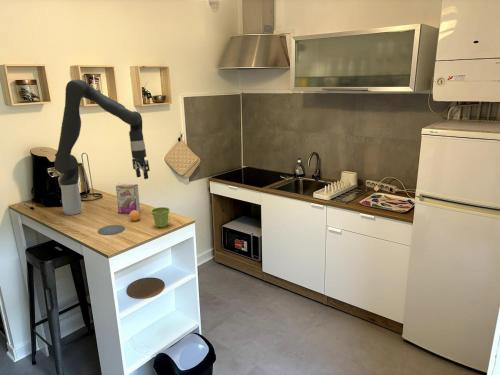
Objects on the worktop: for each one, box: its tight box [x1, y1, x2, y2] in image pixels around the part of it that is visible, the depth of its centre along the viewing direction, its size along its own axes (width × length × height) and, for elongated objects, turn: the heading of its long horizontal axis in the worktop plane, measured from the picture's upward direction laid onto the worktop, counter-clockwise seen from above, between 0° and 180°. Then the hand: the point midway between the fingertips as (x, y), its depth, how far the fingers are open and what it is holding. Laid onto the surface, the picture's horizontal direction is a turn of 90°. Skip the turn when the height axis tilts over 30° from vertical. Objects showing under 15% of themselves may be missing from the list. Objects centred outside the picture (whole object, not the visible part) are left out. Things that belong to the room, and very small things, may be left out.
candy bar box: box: [115, 183, 141, 214], centre depth 215 cm, size 11×5×16 cm, turn 84°
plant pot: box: [150, 206, 171, 228], centre depth 195 cm, size 9×9×9 cm
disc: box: [97, 224, 126, 236], centre depth 191 cm, size 13×13×1 cm
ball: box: [128, 210, 141, 222], centre depth 204 cm, size 6×6×6 cm
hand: (142, 177), depth 209 cm, fingers open, 8 cm apart
